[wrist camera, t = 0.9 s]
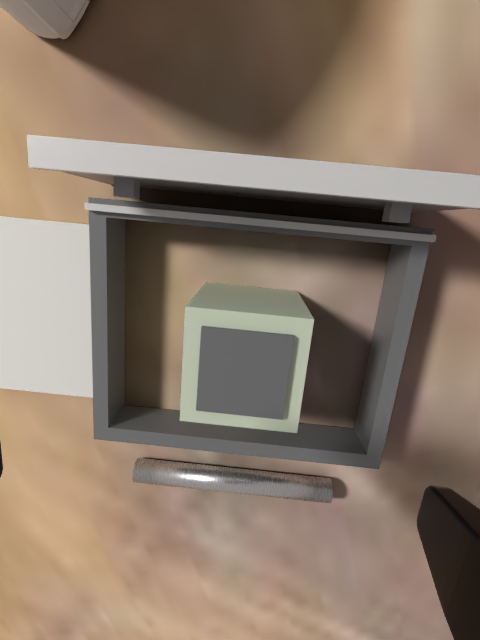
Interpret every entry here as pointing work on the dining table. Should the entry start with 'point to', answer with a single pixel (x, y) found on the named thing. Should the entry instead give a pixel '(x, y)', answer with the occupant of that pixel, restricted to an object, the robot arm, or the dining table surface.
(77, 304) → the pad
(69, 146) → the case lid open
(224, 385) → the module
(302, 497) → the rod
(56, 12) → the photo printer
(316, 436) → the case base
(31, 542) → the dining table surface
